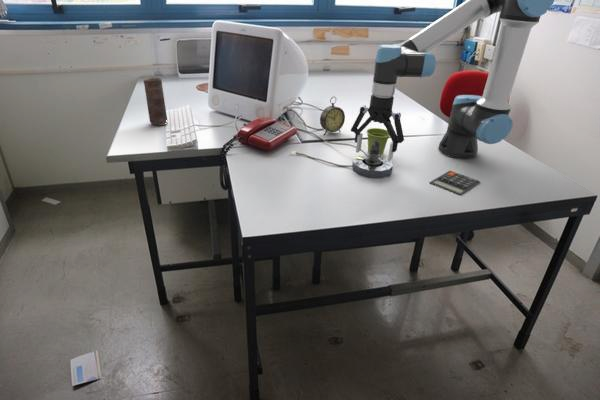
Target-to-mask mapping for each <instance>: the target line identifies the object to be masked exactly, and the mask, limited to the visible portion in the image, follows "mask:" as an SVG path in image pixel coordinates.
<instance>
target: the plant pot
mask: <svg viewBox="0 0 600 400" xmlns="http://www.w3.org/2000/svg"><path fill="white" fill-rule="evenodd" d="M366 134H367V135H366V136H367V153H369V154H368V155H370V150H371V146H372V142H373V141H376V139H377V141H378V142H379V143H380V147H379V151H380V153H379V155H378V156H382V155H383V154H384V152H385V149H386V146H387V142H388V140H389V138H390V135H389V133H388V131H387V129H383V128H381V127H380V128H378V127H375V128H373V127H372V128H368V129H367V130H366Z"/></svg>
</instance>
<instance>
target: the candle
mask: <svg viewBox="0 0 600 400" xmlns="http://www.w3.org/2000/svg"><path fill="white" fill-rule="evenodd" d="M143 86H144V92H145V98H146V99H145V100H146V105H147V112H148V119H149V123H150V124H152V125H159V126H166V125H165V123H166V120H167V121H168V115H167V109H166V102H165V96H164V94H165V93H164V90H163V89H164V88H163V80H162V78H161V77H160V78H159V77H157V76H154V77H151V78H147V79H143Z"/></svg>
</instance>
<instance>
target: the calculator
mask: <svg viewBox="0 0 600 400" xmlns="http://www.w3.org/2000/svg"><path fill="white" fill-rule="evenodd" d="M480 183H481V181H480V180H478V179H475V178H472V177H469V176H466V175H463V174H461V173H458V172H456V171H452V170H448V171H447V172H445V173H443V174H441V175H439V176H438V177H436V178H434V179H433V180H431V181H429V185H432V184H433V185H432V186H435V185H436V186H435V187H437V186H438V188H441V189H442V188H443V190H446V191H447V190H448V192H449V193H452V192H453V194H455V195H457V196H460V195H461V196H463V195H464V194H466V193H467V192H468V191H470V190H471V189H473V188H475V187H476V186H477V185H479V184H480ZM465 192H466V193H465ZM462 194H463V195H462Z"/></svg>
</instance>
